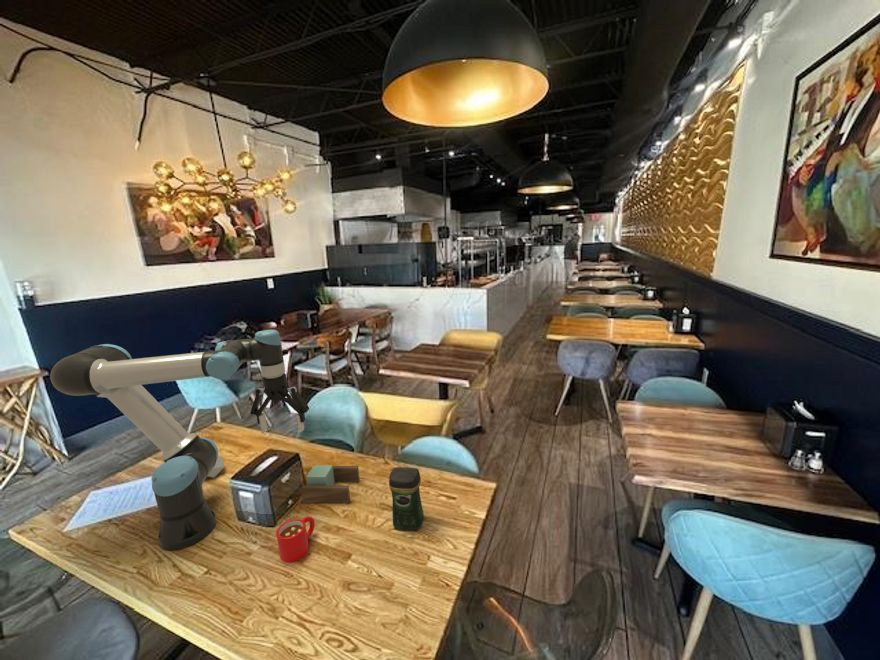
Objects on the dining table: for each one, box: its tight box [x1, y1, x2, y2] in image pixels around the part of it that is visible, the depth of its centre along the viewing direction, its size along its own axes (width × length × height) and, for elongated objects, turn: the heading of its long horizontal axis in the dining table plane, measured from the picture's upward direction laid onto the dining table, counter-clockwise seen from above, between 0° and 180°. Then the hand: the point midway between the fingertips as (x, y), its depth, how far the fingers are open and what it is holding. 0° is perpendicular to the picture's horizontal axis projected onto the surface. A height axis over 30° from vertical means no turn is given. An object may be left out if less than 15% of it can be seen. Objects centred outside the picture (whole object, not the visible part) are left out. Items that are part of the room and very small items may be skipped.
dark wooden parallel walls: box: [300, 465, 360, 505], centre depth 133 cm, size 13×17×6 cm
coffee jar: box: [388, 466, 425, 531], centre depth 115 cm, size 10×8×19 cm
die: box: [207, 455, 226, 479], centre depth 147 cm, size 8×9×10 cm
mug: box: [275, 515, 315, 564], centre depth 109 cm, size 8×12×8 cm, turn 154°
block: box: [305, 464, 336, 485], centre depth 133 cm, size 7×7×8 cm
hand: (283, 430), depth 132 cm, fingers open, 13 cm apart
